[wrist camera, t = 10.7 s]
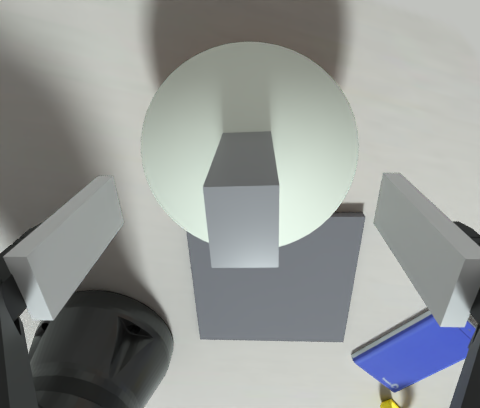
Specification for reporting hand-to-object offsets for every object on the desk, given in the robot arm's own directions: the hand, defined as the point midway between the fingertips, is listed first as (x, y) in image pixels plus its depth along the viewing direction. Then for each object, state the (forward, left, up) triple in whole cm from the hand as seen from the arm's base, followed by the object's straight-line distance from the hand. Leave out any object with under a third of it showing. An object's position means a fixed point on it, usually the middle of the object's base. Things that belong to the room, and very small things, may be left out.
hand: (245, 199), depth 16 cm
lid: (0, 0, -6) cm, 6 cm away
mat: (-15, -2, -11) cm, 19 cm away
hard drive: (-25, -19, -12) cm, 33 cm away
